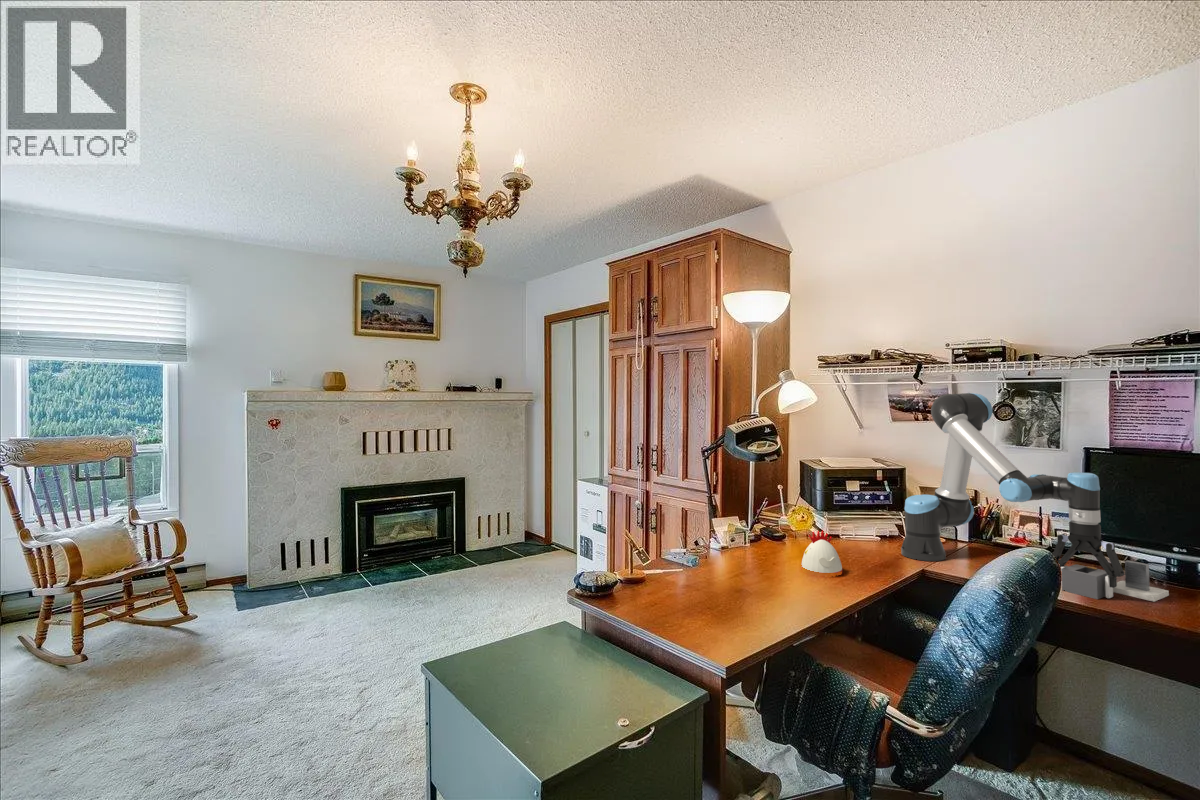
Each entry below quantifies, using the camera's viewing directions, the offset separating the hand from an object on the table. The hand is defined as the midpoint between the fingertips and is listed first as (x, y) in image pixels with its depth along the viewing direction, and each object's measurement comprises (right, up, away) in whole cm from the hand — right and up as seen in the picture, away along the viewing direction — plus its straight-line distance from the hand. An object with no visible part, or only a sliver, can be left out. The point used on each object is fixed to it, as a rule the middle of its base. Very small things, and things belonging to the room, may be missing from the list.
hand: (1086, 591), depth 173 cm
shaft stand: (+14, 0, -2) cm, 14 cm away
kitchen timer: (-73, -3, +28) cm, 78 cm away
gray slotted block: (0, 0, 0) cm, 0 cm away
